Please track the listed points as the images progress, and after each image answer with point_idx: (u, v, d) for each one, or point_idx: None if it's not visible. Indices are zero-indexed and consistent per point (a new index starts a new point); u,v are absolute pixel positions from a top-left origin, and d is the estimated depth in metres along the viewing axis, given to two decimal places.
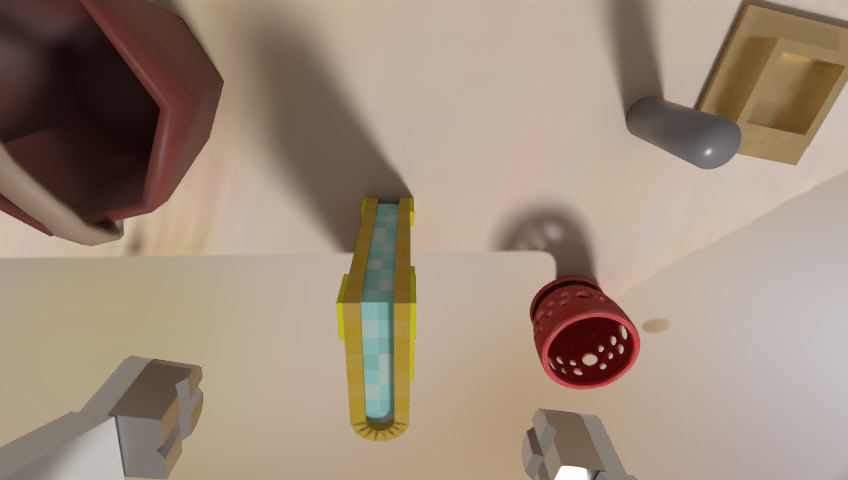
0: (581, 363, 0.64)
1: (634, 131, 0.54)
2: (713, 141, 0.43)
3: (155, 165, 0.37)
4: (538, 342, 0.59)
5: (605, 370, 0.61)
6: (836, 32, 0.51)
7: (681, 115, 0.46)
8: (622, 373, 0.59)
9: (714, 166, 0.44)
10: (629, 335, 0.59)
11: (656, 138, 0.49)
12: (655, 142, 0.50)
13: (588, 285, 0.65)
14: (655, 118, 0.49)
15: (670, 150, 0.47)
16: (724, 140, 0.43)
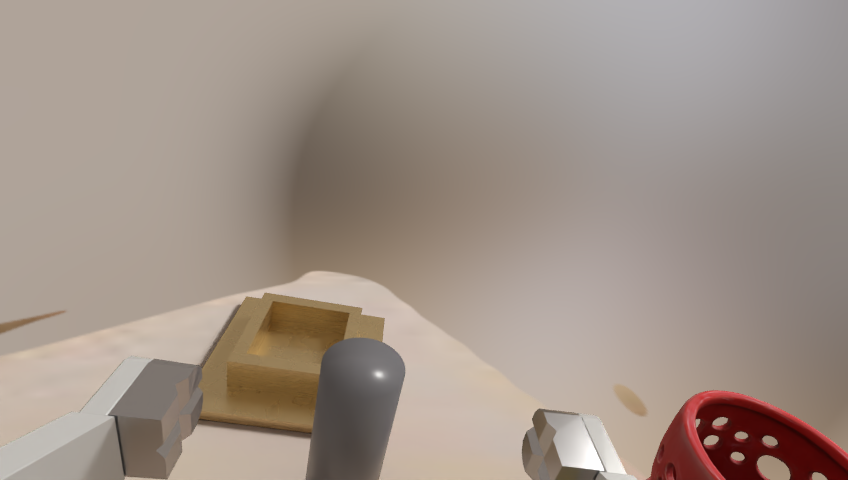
0: None
1: None
2: (358, 369, 0.26)
3: None
4: None
5: (776, 433, 0.34)
6: (237, 321, 0.46)
7: (322, 437, 0.26)
8: (764, 403, 0.34)
9: (398, 358, 0.27)
10: None
11: (365, 469, 0.27)
12: (374, 471, 0.28)
13: None
14: None
15: (383, 437, 0.26)
16: (356, 355, 0.26)
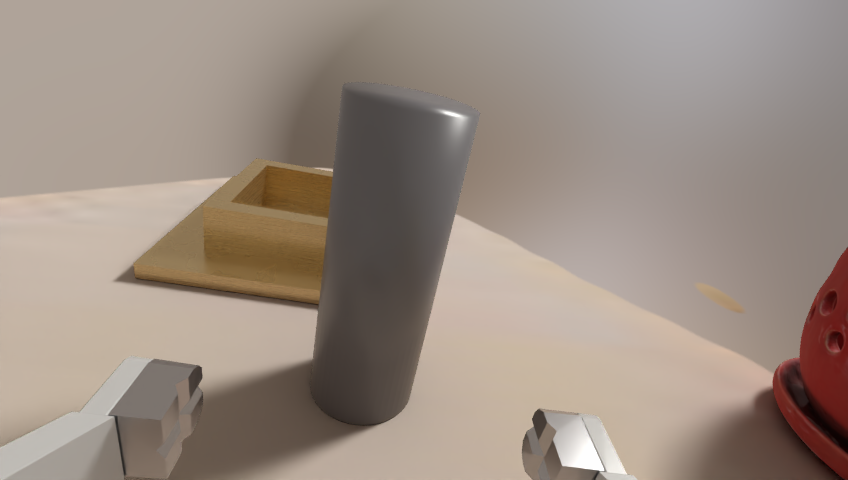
0: None
1: (401, 386, 0.20)
2: (404, 98, 0.15)
3: None
4: None
5: None
6: None
7: (346, 218, 0.16)
8: None
9: (464, 105, 0.17)
10: None
11: (415, 282, 0.17)
12: (426, 293, 0.17)
13: (797, 405, 0.25)
14: (360, 310, 0.17)
15: (444, 224, 0.16)
16: (398, 92, 0.16)
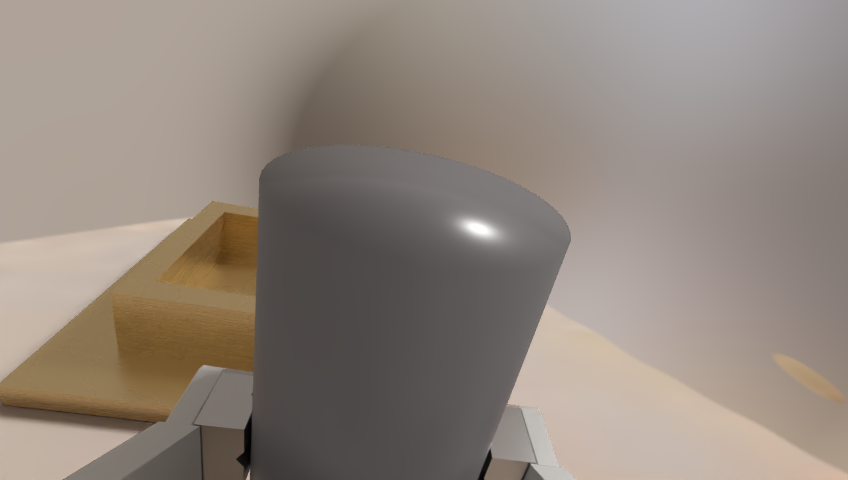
0: None
1: None
2: (403, 197, 0.07)
3: None
4: None
5: None
6: None
7: (275, 451, 0.07)
8: None
9: (525, 192, 0.08)
10: None
11: None
12: None
13: None
14: None
15: (486, 447, 0.08)
16: (391, 173, 0.08)
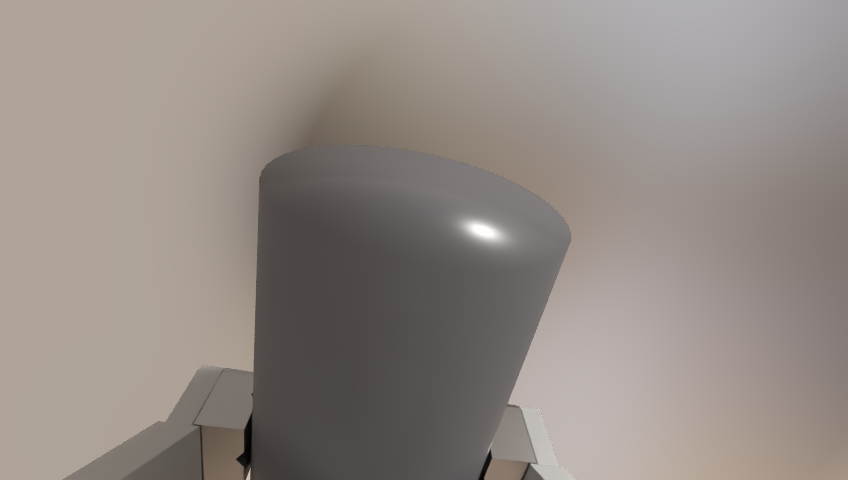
0: None
1: None
2: (403, 196, 0.07)
3: None
4: None
5: None
6: None
7: (275, 452, 0.07)
8: None
9: (525, 192, 0.08)
10: None
11: None
12: None
13: None
14: None
15: (486, 447, 0.08)
16: (391, 172, 0.08)
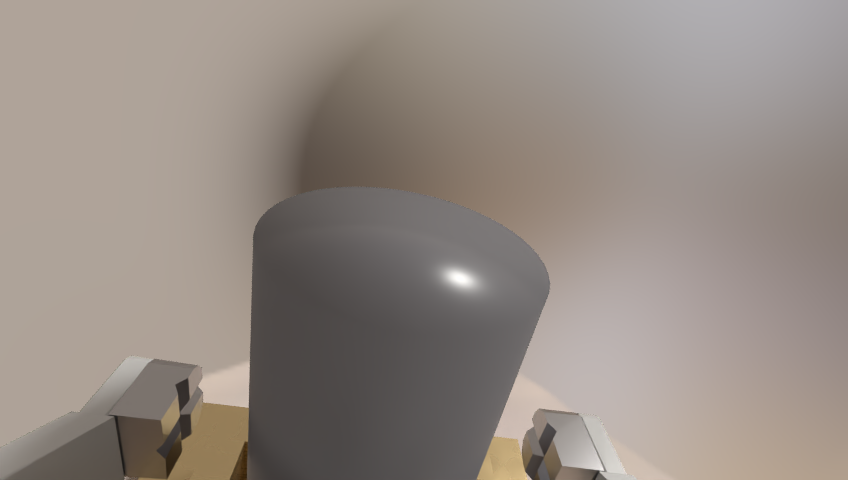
0: None
1: None
2: (390, 249, 0.07)
3: None
4: None
5: None
6: None
7: None
8: None
9: (509, 235, 0.09)
10: None
11: None
12: None
13: None
14: None
15: None
16: (381, 219, 0.08)
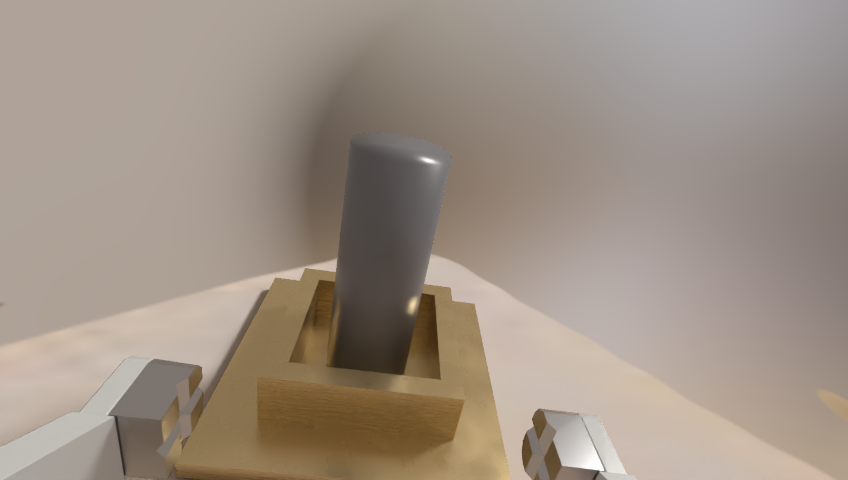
0: None
1: (397, 362, 0.25)
2: (395, 148, 0.21)
3: None
4: None
5: None
6: (266, 313, 0.30)
7: (353, 235, 0.21)
8: None
9: (441, 149, 0.22)
10: None
11: (405, 282, 0.22)
12: (414, 290, 0.23)
13: None
14: (365, 303, 0.23)
15: (426, 238, 0.22)
16: (392, 141, 0.22)
